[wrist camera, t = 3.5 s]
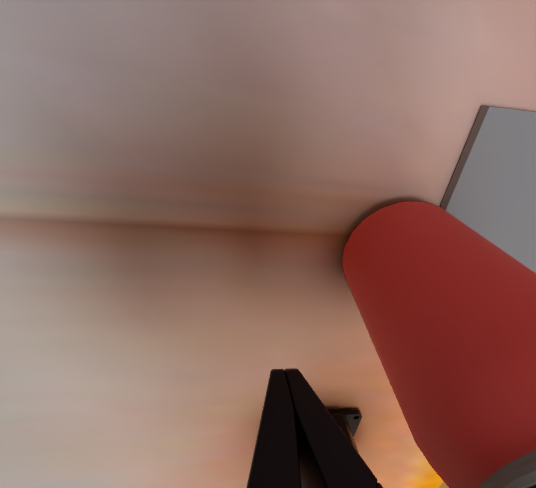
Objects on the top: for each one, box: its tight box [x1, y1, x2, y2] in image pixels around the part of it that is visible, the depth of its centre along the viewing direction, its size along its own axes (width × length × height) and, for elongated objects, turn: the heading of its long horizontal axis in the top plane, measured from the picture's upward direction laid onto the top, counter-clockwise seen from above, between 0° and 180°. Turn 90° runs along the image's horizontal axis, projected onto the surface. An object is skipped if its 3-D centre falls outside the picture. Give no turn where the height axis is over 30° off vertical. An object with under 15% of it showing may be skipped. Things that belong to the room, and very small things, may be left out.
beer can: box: [342, 202, 536, 488], centre depth 12 cm, size 7×7×12 cm
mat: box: [440, 106, 536, 273], centre depth 19 cm, size 16×14×1 cm
